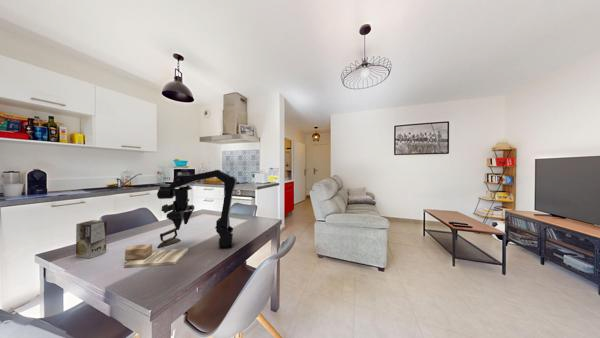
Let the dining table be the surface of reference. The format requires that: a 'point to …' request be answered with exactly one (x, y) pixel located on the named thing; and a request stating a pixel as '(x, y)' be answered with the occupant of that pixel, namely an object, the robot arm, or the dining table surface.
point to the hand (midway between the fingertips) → (181, 226)
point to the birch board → (159, 258)
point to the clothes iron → (168, 241)
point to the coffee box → (91, 238)
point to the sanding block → (138, 252)
